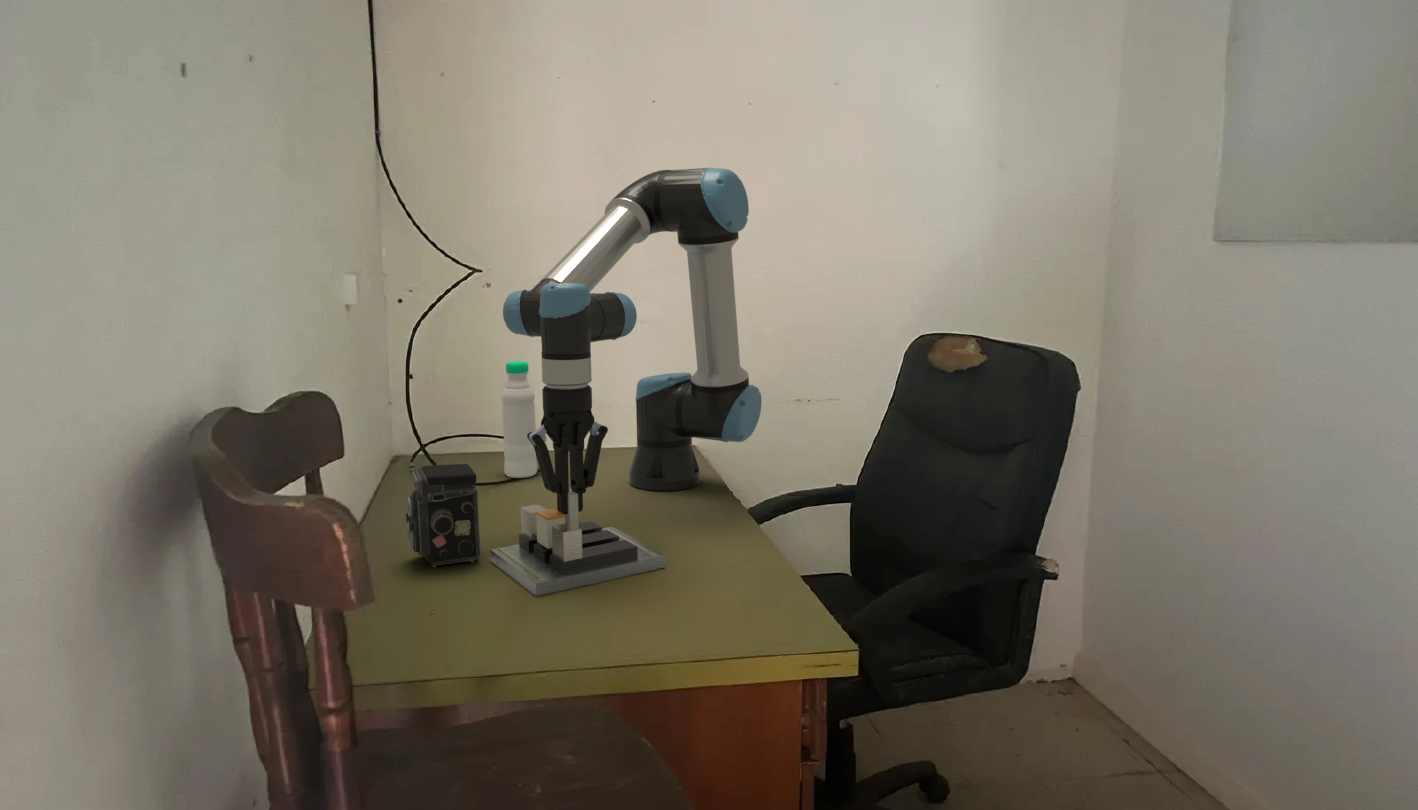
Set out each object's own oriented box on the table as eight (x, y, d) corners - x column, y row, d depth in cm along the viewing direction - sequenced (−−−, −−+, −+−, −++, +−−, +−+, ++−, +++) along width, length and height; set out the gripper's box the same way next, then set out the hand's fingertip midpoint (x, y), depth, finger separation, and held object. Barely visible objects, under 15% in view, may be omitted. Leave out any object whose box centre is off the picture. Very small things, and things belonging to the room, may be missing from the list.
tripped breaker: (554, 538, 149) (553, 508, 148) (565, 545, 146) (564, 514, 145) (537, 541, 147) (536, 511, 146) (547, 548, 144) (546, 518, 143)
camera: (406, 554, 154) (401, 465, 152) (471, 546, 159) (467, 459, 156) (413, 574, 145) (408, 480, 142) (482, 565, 149) (478, 474, 147)
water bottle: (521, 469, 211) (517, 358, 207) (544, 473, 207) (540, 361, 203) (497, 475, 205) (493, 362, 201) (520, 480, 201) (515, 364, 197)
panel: (612, 537, 163) (611, 490, 162) (665, 567, 148) (665, 515, 147) (490, 561, 151) (488, 510, 150) (536, 596, 136) (534, 540, 135)
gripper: (593, 378, 151) (596, 519, 155) (517, 385, 143) (522, 533, 148) (616, 384, 144) (618, 531, 149) (537, 391, 137) (542, 546, 141)
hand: (570, 532), depth 148 cm, fingers closed
